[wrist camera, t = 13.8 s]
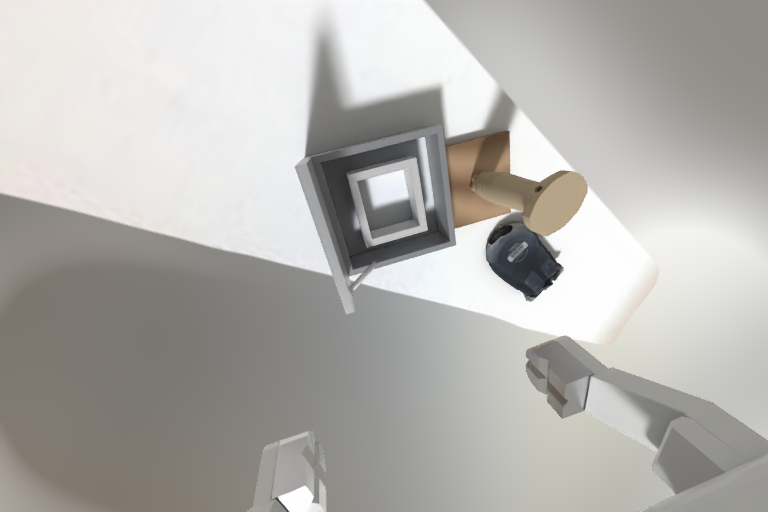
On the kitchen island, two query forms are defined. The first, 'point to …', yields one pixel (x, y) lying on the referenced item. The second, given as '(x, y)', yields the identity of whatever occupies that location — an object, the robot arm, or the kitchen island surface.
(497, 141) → the walnut pad
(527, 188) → the handle
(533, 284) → the electronic device
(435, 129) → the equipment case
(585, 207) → the kitchen island surface
